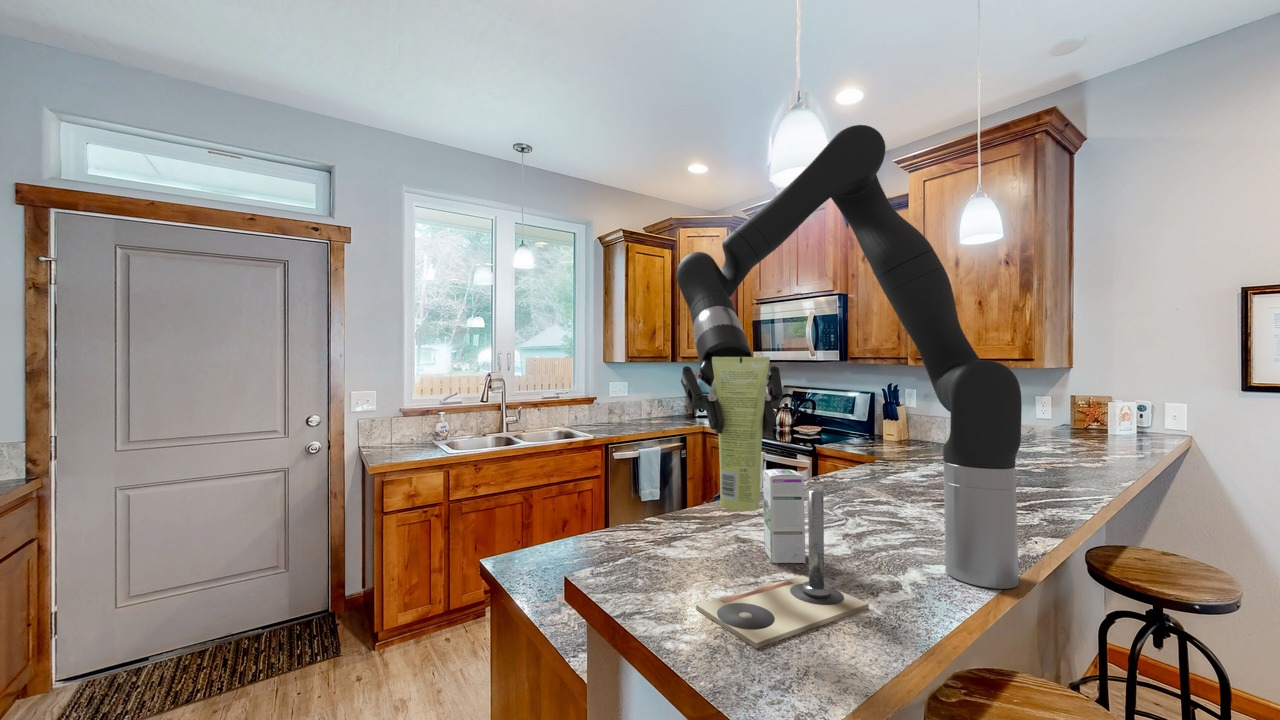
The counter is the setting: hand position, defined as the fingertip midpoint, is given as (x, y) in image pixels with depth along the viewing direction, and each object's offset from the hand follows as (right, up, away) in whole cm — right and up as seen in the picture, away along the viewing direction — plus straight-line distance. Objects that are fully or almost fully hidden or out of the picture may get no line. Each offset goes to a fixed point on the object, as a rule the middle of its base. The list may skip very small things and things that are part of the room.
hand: (744, 429), depth 63 cm
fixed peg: (+11, -24, +6) cm, 27 cm away
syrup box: (+11, -25, +22) cm, 35 cm away
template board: (+6, -24, +3) cm, 25 cm away
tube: (0, -11, +1) cm, 11 cm away
